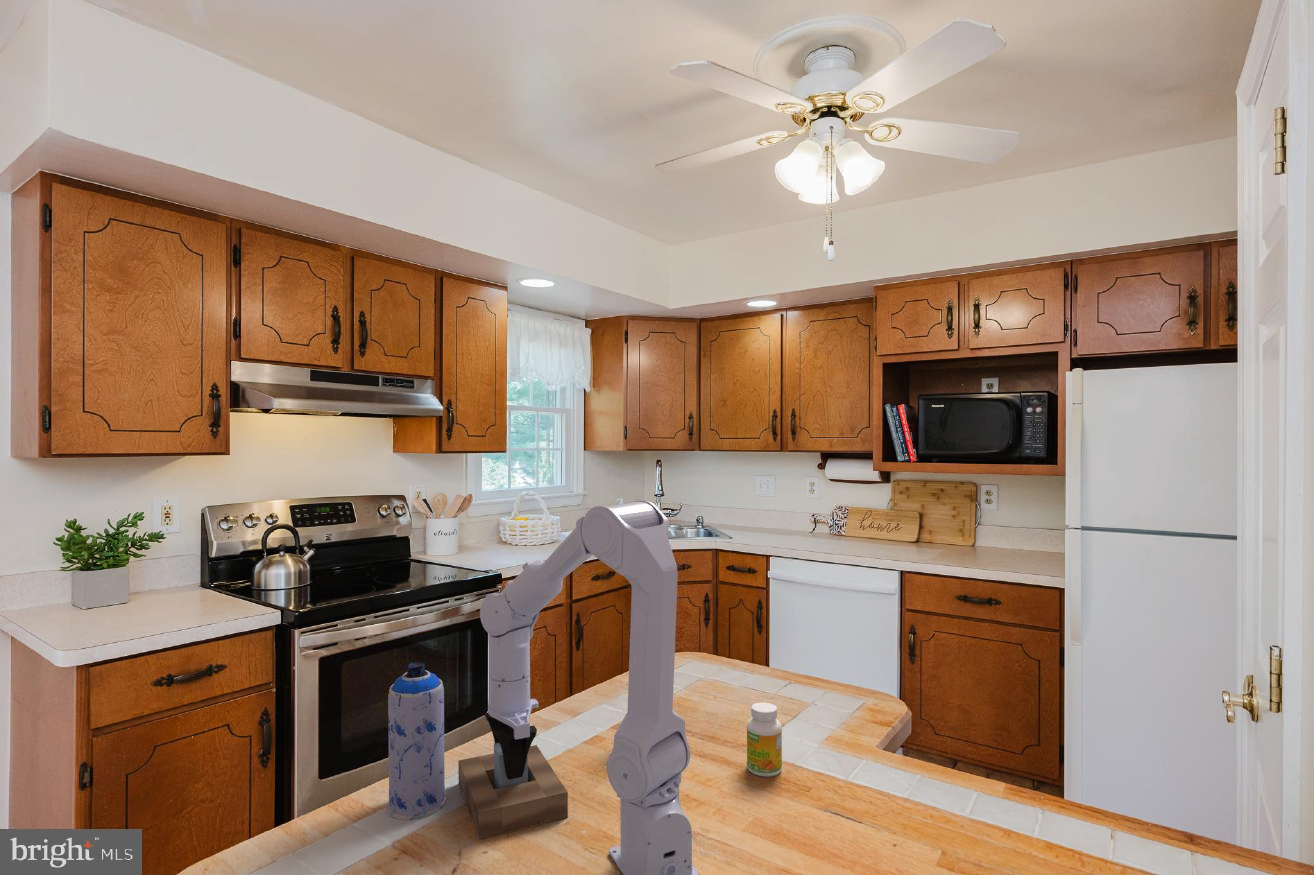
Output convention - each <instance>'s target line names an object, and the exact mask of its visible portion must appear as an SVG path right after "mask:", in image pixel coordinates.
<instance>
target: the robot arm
mask: <svg viewBox="0 0 1314 875" xmlns="http://www.w3.org/2000/svg"><path fill="white" fill-rule="evenodd" d="M669 530H670V520H669V518H667V516H666V515H665V514H664V513H663V512H662V511H661V510H660V508H659V507H658V506H656V505H655V503H653V502H651V501H649V500H646V499H642V500H636V501H634V502H628V503H622V504H613V505H597V506H596V505H595V506H594V507H592V508H590V509H589V510H588V511H587V512H586V513H585V515H582V517H580V518H578V519H577V520H576V522H575V527H574V529H573V530H572V531H571V532H570V533H569V534H568V535H567V536H566V537H565V539H564V540H563V541H562V542H561V543H560V544H559V545H558V546H557V547H556V549H555V550H553V552H552V553H551V554H550V555H549V556H548V557H547V558H546V560H541V559H538V560H532V561H526V562H525V563H524V564H523V565H522V566H521V568H522V571H521V572H520V573H519V574H518V575H517V576H516V577H515V578H514V579H513V580H509V581H507V582H506V583H505V584H504V587H505V588H503V590H502V591H501V592H499V593H498V592H497V593H495V592H493V593H489V594H487V595H486V596H485V598H484V599H483V600H482V601H481V602H482V603H481V605H480V609H479V617H480V622H481V624H482V627H483V629H484V630H485V631H486V632H487V633H488V645H489V646H488V647H489V648H488V649H489V650H488V651H489V652H488V653H489V654H488V662H489V663H488V664H489V704H488V707H487V712H486V713H484V716H485V718H486V719H485V720H486V721H487V723H488V724H489V727H490V730H491V733H492V734H491V735H492V738H493V741H494V743H500V746H501V749H502V754H503V760H504V767H505V772H506V776H507V778H508V780H510V779H515V778H519V777H522V776H523V773H524V769H525V764H526V759H527V755H528V751H529V748H530V746H532V743H533V741H534V739H535V738H536V736H537V733H538V729H537V727H536V726H535V725H533V724H532V725H531V723H530V718H531V713H532V710H534V709H538V708H539V702H538V700H537V699H536V698H531V658H530V657H531V653H530V651H531V647H530V645H531V641H530V640H532V638H533V636H534V627H535V625H536V623H537V621H538V619H539V614H540V612H541V611H542V610H543V609H544V608H545V607H546V606H547V605H549V603H550V602H552V601H553V600H554V599H555V598H556V597H557V596H558V595H560V593H561V592H562V590H563V585H564V584H563V582H564V581H563V579H565V578H566V577H567V576H569V575H570V574H571V573H572V572H573V571H575V570H576V569H578V568H579V567H580V566H581V565H583V563H585V562H586V561H587V560H588V559H590V558H591V557H593V556H594V557H595V558H596V559H598V560H599V561H601V563H603V564H605V565H606V566H608V567H609V568H611V569H612V570H614V571H615V572H616V573H618V574H619V575H620V576H623V577H624V578H625V579H626V580H627V581H628V582H629V584H630V585H631V597H630V598H631V600H630V601H631V602H630V606H631V607H630V629H629V630H630V632H629V633H630V634H629V660H628V661H629V663H628V686H627V689H628V690H627V691H628V692H627V712H626V714H625V716H624V717H623V719H622V720H621V722H620V724H619V726H618V728H617V729H616V731H615V733H614V735H613V747H612V750H611V752H610V754H609V755H608V758H607V761H606V762H607V763H606V773H607V777H608V778H607V779H608V781H609V783H610V786H611V787H612V789H613V790H614V792H615V793H616V797H618V798H620V799H619V800H620V802H619V803H620V805H619V809H620V812H619V813H620V816H619V817H620V819H619V820H620V827H619V828H620V829H619V830H620V845H616V846H613V847H609V850H608V854H609V855H610V857H611V858H612V859H613V861H614V863H615V864H616V866H617V867H618V869H619V870H620V871H621V874H622V875H699V874H700V873H699V871H698V869H696V868H695V866H693V845H692V844H693V839H692V838H693V834H692V833H693V832H692V831H693V830H692V825H691V822H690V820H689V818H688V817H687V816H686V814H685V813H684V811H683V808H682V806H681V801H680V784H681V783H682V773H683V772H684V771H685V770H686V769H688V766H689V764H690V761H691V748H690V744H689V741H688V738H687V735H686V720H685V718H683V717H682V716H681V715H679V714H678V713H676V711H674V710H673V708H674V706H673V705H674V680H675V657H676V656H675V655H676V654H675V652H676V630H677V627H676V626H677V604H678V603H677V601H678V574H679V573H678V566H677V562H676V560H675V559H676V558H675V555H674V553H673V549H672V546H671V543H670V540H669V532H670V531H669Z"/></svg>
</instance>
